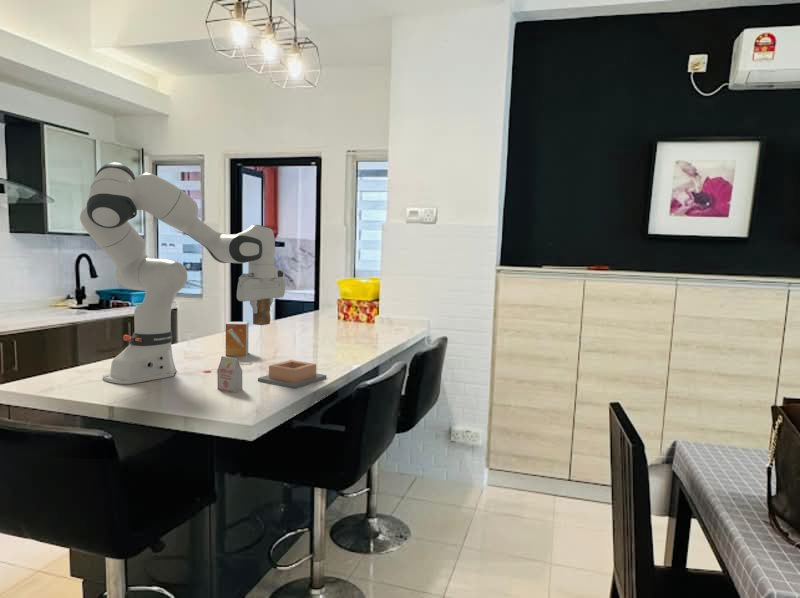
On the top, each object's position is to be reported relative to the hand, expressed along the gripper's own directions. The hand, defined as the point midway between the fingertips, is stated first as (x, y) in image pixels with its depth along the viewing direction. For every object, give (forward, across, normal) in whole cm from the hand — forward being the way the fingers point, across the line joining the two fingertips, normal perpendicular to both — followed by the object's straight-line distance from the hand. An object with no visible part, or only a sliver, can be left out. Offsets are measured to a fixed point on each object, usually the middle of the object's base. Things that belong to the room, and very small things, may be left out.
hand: (261, 312), depth 182 cm
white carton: (+21, -22, -8) cm, 32 cm away
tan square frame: (+21, -2, -16) cm, 26 cm away
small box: (+22, +16, +28) cm, 39 cm away
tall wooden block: (+4, 0, 0) cm, 4 cm away
